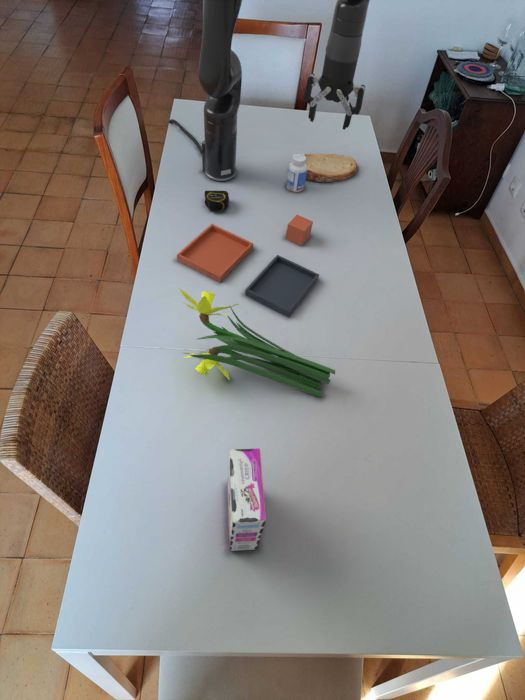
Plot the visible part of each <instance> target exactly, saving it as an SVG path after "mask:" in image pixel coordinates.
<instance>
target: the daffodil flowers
mask: <svg viewBox="0 0 525 700" xmlns="http://www.w3.org/2000/svg"><path fill="white" fill-rule="evenodd" d="M178 289H179V291H180V293H181V295H182V296H183V298H185V299H186V300H187V301H188V302H190V303H191V304H192V305H191V304H188V303H186V302H184V301H182V303H183V304H184V305H186V306H187V307H188V308H190V309H192V310H193V311H197V312H198V313H199V316H198V317H199V319H200V322H201V323H202V324H203V325H204V326H205V327H206V328H207V329H209V330H211V331H213V334H211V335H206V336H205V335H204V336H201V337H197V340H207V339H217V340H218V341H221V342H222V343H224V344H223V345H217V346H213V347H212V348H208V349H207V351H208V352H202V353H191V352H182V354H184V355H185V354H186V355H185V356H183V358H186V359H187V358H196V359H202V361H201V362H200V363H199V364H198V365H196V367H195V368H194V370H195V371H196V372H198V374H200V375H203V376H204V377H207V375H208V372H209V370H211V369H212V368H213V367H215V366H216V368H217V369H218V370H219V371H220V372H221V374H223V376H225V378H226V379H227V380H229V381H231V379H230V375H229V373H228V371H227V370H225V368H224V367H223V366H222V365H221V363H222V364H226V365H230V366H232V367H236V368H238V369H241V370H244V371H246V372H250V373H252V374H255V375H257V376H260V377H263V378H266V379H269V380H271V381H275V382H277V383H279V384H282V385H285V386H289V387H290V388H294V389H297V390H300V391H302V392H305V393H308V394H310V395H313V396H316V397H318V398H322V397H323V395H324V391H322V390H319V389H321V388H322V385H323V383H324V384H326V385H329V384H330V383H331V379H330V377H331V374H333V375H336V369H333V368H330V367H328V366H325V365H322V364H320V363H317V362H315V361H312V360H310V359H307V358H304V357H300V356H298V354H297V355H296V354H295V353H292V352H290V351H289V350H287V349H285V348H283V347H281V346H280V345H278V344H276V343H274V342H272V341H271V340H269V339H267V338H266V337H264V336H262V335H261V334H259V333H257V332H256V331H254V330H253V329H252V328H250V327H249V326H247V325H246V324H244V322H243V321H242V320H241V319H240V318H239V316H238V315H237V314H236V313H235V311H234V310H233V307H236V306H239V305H240V303H235V304H233V305H228V306H219V307H217V306H216V307H212V304H213V302H214V299H215V297H216V293H214V292H211V291H210V292H209V291H201V292H200V293H201V294H200V295H201V298H200V301H199V302H198V301H196V300H195V299H194V298H192V297H191V296H190V295H189V294H188V293H186V291H184V290H183V289H181V288H180V287H178ZM229 308H230V310H231V312H232V314H233V315H234V317H235V319H236V320H237V322H234V320H233V319H232V318H231V317H230V315H229V314H223V316H224V317H227V318H228V320H229V322H230V323H231V325H232V326H233V327H234V328H235V329H236V330H237V331H238V332H239V334H241V335H239V334H236V333H235V332H231V331H229V330H228V329H227V328H225V327H223V326H221V327H219V326H217V325H215V324H213V323H211V322H210V317H209V316H222V314H221V313H216V312H218V311H219V312H220V311H222V310H227V309H229ZM242 353H243V354H242ZM219 354H225V355H228V356H223V355H219ZM245 354H247V355H245ZM249 355H250V356H249ZM253 356H254V357H253Z"/></svg>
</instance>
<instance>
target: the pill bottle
mask: <svg viewBox="0 0 525 700" xmlns="http://www.w3.org/2000/svg"><path fill="white" fill-rule="evenodd" d="M304 155H305V154H303V153H294V154H293V155H292V157H291V161H290V163H289V164H288V168H287V169H288V170H287V179H286V187H287V190H288V191H291V192H295V193H300V192H302V191H304V189H305V185H306V180H307V179H306V173H307V165H306V157H305V156H304Z"/></svg>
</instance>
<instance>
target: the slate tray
mask: <svg viewBox="0 0 525 700" xmlns="http://www.w3.org/2000/svg"><path fill="white" fill-rule="evenodd" d="M319 276H320V274H319V273H317V272H315V271H313V270H311V269H309V268H306V267H305V266H302V265H301V264H298V263H296V262H294V261H292V260H290V259H287V258H285V257H284V256H281V255H280V254H279V255H278V254H276V256H275V257H274V258H273V259H271V261H269V263H268V265H267V266H266V267H265V268H264V269H263V270H262V271H261V272H260V273H259V274H258V275H257V276H256V277H255V279H253V280H252V281H251V283H250V284H249V285H248V286H247V287H246V288H245V289H244V291H245V293H244V296H245V297H248V298H250V299H252V300H254V301H256V302H257V303H259V304H262V305H263V306H265V307H267V308H269V309H271V310H273V311H275V312H277V313H279V314H281V315H283V316H285V317H287V318H289V317H290V316H291V315H292V314H293V313H294V311H295V310H296V309H297V307H298V306H299V305H300V304H301V302H302V301H303V300H304V299H305V297H306V296H307V295H308V293H309V292H311V290H312V288H313V287H314V286H315V284H316V283H317V282H318V281H319V278H320V277H319Z"/></svg>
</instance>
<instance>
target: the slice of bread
mask: <svg viewBox="0 0 525 700" xmlns="http://www.w3.org/2000/svg"><path fill="white" fill-rule="evenodd" d="M303 155H304V156H305V157H306V165H307V173H306V179H305V180H308V181H310V182H317V183H318V182H319V183H320V182H321V183H332V182H336V181H337V182H338V181H339V182H340V181H344V180H347V179H350V178H352V177H353V176H354V175H356V173H357V171H358V163H357V161H356V159H354V158H353V157H351V156H348V155H343V154H342V155H341V154H340V155H339V154H332V153H305V154H303Z"/></svg>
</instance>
